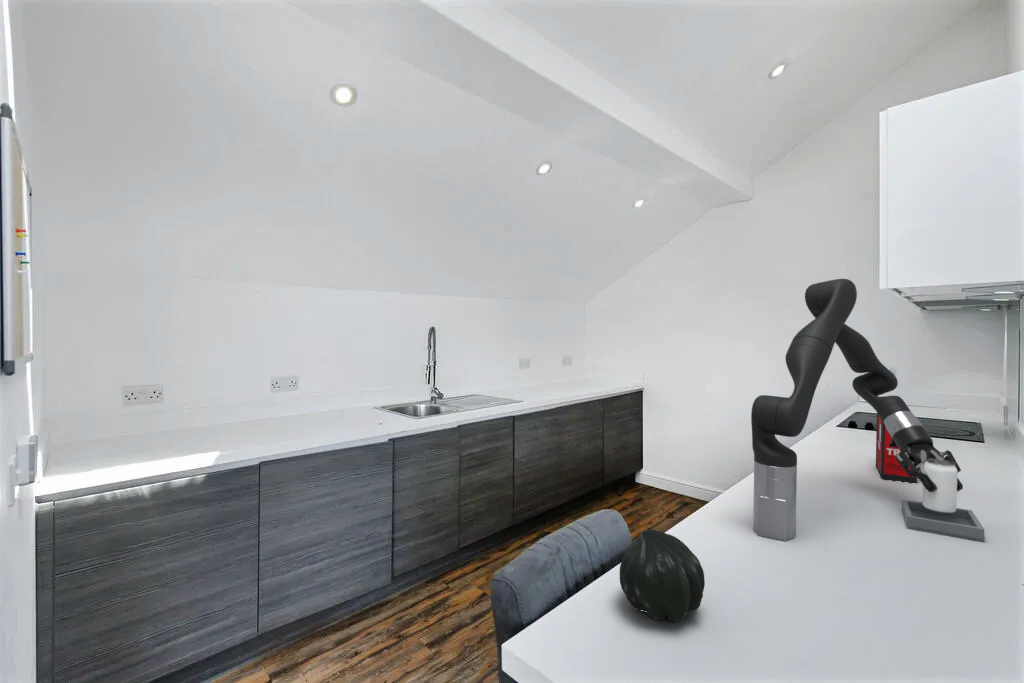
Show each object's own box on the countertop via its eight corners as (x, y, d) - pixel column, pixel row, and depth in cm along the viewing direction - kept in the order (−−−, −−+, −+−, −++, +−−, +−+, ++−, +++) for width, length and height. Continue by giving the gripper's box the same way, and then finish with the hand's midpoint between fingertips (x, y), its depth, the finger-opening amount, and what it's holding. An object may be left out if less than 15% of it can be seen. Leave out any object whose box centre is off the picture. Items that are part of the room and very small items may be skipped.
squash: (732, 580, 88) (677, 505, 94) (700, 622, 77) (640, 534, 83) (675, 608, 96) (628, 537, 102) (639, 650, 85) (588, 568, 91)
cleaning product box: (916, 484, 155) (918, 421, 154) (881, 479, 160) (883, 418, 159) (907, 470, 169) (909, 412, 169) (875, 466, 174) (876, 410, 173)
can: (939, 503, 127) (941, 457, 127) (963, 513, 121) (965, 465, 120) (915, 504, 127) (916, 458, 127) (937, 514, 121) (939, 465, 120)
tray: (984, 542, 114) (984, 529, 114) (906, 528, 122) (907, 516, 122) (971, 521, 126) (971, 510, 126) (901, 510, 134) (901, 499, 134)
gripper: (889, 424, 130) (928, 484, 119) (942, 423, 131) (985, 482, 120) (873, 439, 136) (909, 498, 125) (923, 438, 137) (963, 496, 125)
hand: (946, 490), depth 122 cm, fingers closed on can, 6 cm apart
